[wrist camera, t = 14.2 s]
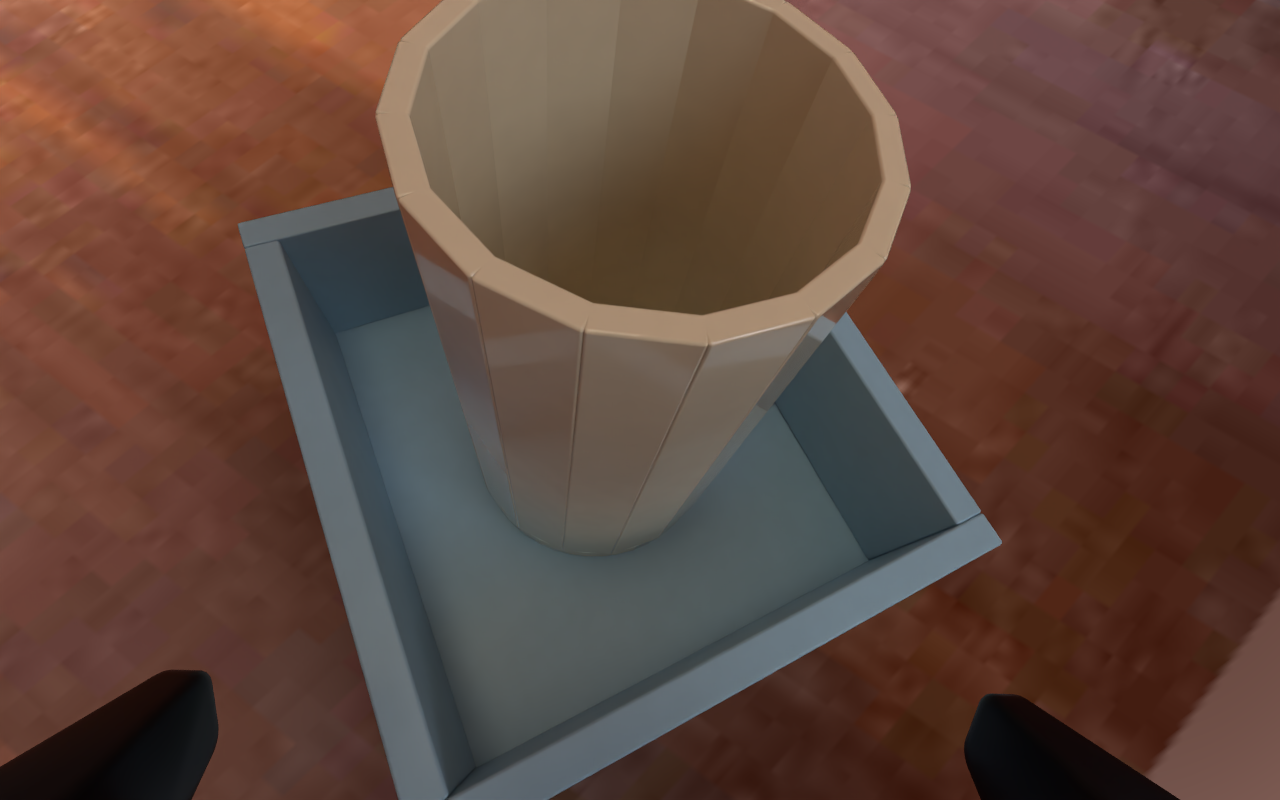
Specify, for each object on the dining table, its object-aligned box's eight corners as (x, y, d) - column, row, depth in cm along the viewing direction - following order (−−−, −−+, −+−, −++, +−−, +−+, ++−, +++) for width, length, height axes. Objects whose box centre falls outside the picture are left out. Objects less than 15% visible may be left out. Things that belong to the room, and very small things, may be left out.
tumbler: (649, 599, 17) (822, 446, 6) (434, 490, 17) (249, 172, 7) (735, 403, 20) (954, 69, 9) (549, 315, 20) (550, -101, 10)
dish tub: (893, 578, 19) (1004, 543, 14) (458, 816, 15) (417, 872, 10) (680, 223, 24) (711, 111, 19) (309, 330, 20) (236, 222, 15)
